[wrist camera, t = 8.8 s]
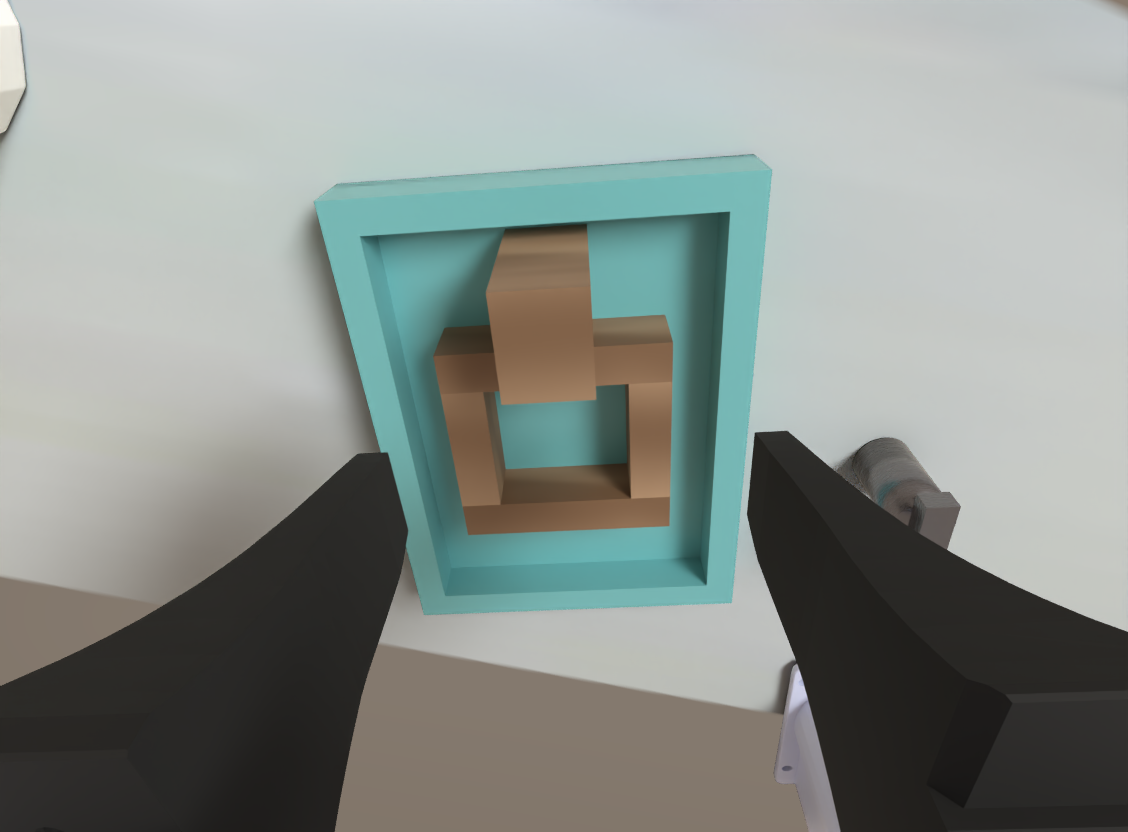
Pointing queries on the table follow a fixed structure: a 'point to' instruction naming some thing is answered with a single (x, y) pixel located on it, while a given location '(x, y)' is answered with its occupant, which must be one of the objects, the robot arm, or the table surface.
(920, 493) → the stake
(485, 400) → the collar
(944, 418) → the table surface
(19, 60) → the white cup
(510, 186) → the tray
